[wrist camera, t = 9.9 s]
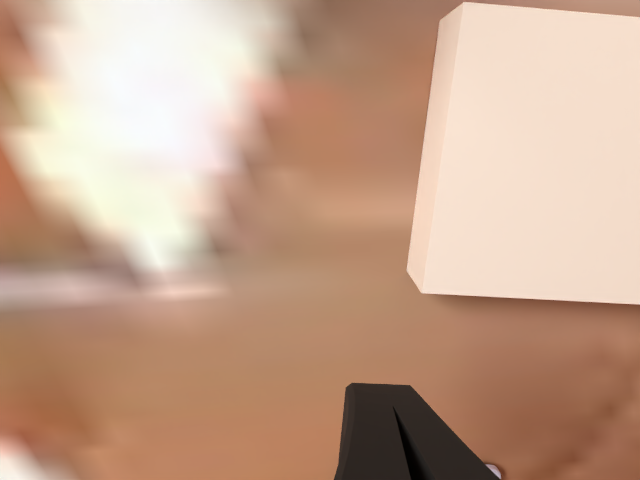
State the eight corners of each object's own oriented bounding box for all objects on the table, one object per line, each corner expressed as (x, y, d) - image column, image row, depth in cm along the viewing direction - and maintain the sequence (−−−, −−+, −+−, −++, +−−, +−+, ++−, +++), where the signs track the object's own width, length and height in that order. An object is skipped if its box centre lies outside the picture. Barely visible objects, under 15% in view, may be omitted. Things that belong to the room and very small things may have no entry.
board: (667, 284, 19) (719, 308, 17) (406, 270, 18) (421, 293, 16) (742, 46, 16) (818, 32, 14) (439, 20, 16) (463, 1, 13)
